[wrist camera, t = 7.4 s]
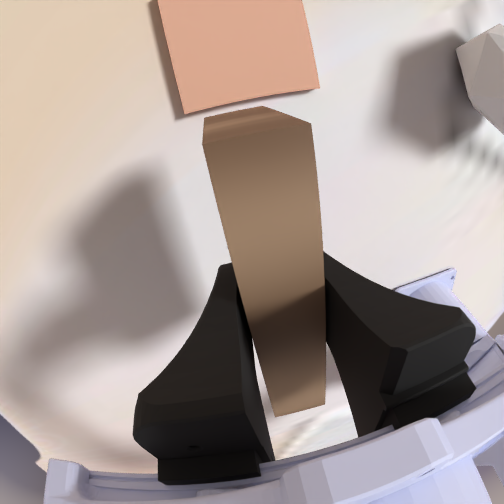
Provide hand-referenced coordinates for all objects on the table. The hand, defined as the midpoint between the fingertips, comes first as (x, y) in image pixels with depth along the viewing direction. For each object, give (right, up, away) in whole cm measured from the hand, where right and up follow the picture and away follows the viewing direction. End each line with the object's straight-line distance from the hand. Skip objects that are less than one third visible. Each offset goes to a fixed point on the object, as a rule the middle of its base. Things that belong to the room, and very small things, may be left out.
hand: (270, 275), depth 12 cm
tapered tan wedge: (0, +2, +2) cm, 3 cm away
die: (+17, +15, +4) cm, 24 cm away
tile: (-1, +10, +4) cm, 11 cm away
